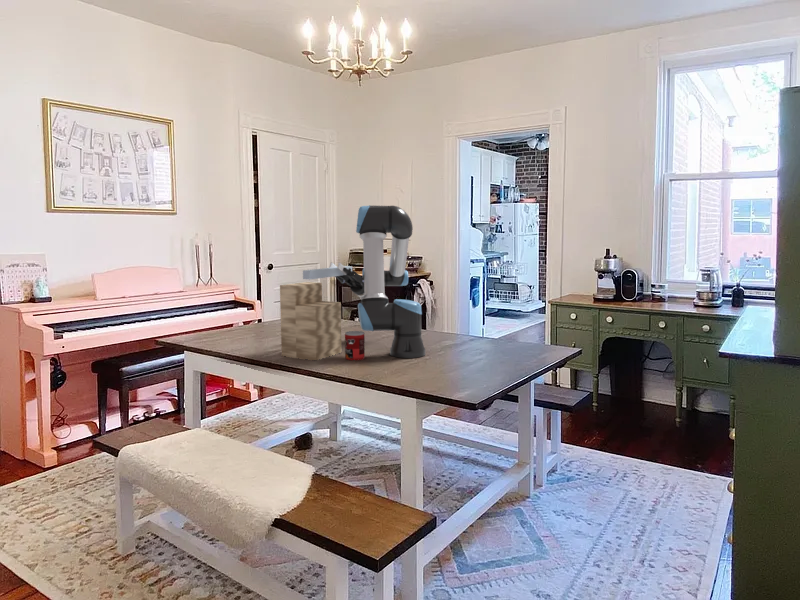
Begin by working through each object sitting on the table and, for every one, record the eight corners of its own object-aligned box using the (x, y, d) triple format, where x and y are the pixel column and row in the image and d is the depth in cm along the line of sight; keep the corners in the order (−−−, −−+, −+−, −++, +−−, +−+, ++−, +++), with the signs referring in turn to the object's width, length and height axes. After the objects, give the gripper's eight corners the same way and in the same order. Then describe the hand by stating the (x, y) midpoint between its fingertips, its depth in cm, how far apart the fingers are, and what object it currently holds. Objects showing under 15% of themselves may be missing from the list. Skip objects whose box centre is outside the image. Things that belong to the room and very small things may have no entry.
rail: (345, 273, 268) (345, 266, 267) (352, 274, 266) (352, 266, 265) (302, 279, 242) (302, 270, 241) (309, 279, 240) (309, 270, 240)
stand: (308, 348, 267) (307, 281, 264) (341, 352, 258) (340, 283, 255) (281, 356, 252) (279, 285, 248) (315, 360, 243) (314, 287, 239)
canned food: (343, 357, 249) (342, 331, 248) (361, 356, 252) (361, 330, 251) (348, 361, 242) (347, 334, 241) (366, 359, 245) (366, 333, 244)
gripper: (374, 296, 271) (348, 273, 252) (344, 294, 279) (316, 272, 260) (378, 281, 273) (352, 258, 254) (348, 279, 281) (321, 257, 262)
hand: (334, 265), depth 257 cm, fingers closed on rail, 3 cm apart
